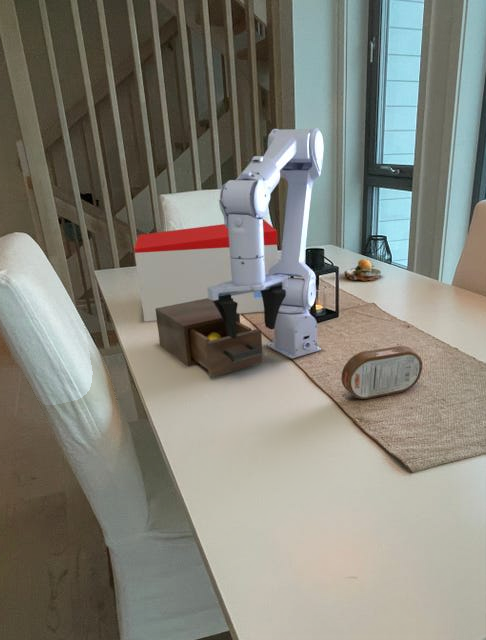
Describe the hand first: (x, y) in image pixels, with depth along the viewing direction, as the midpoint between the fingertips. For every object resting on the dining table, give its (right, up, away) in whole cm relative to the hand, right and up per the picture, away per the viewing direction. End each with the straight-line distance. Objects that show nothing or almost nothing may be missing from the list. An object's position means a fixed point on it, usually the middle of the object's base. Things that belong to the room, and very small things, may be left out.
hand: (251, 332), depth 91 cm
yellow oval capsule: (-8, -3, +13) cm, 16 cm away
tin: (+23, -11, 0) cm, 26 cm away
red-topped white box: (-16, +10, +51) cm, 55 cm away
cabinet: (-13, -2, +21) cm, 25 cm away
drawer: (-6, -5, +12) cm, 14 cm away
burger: (+29, +22, +77) cm, 85 cm away
